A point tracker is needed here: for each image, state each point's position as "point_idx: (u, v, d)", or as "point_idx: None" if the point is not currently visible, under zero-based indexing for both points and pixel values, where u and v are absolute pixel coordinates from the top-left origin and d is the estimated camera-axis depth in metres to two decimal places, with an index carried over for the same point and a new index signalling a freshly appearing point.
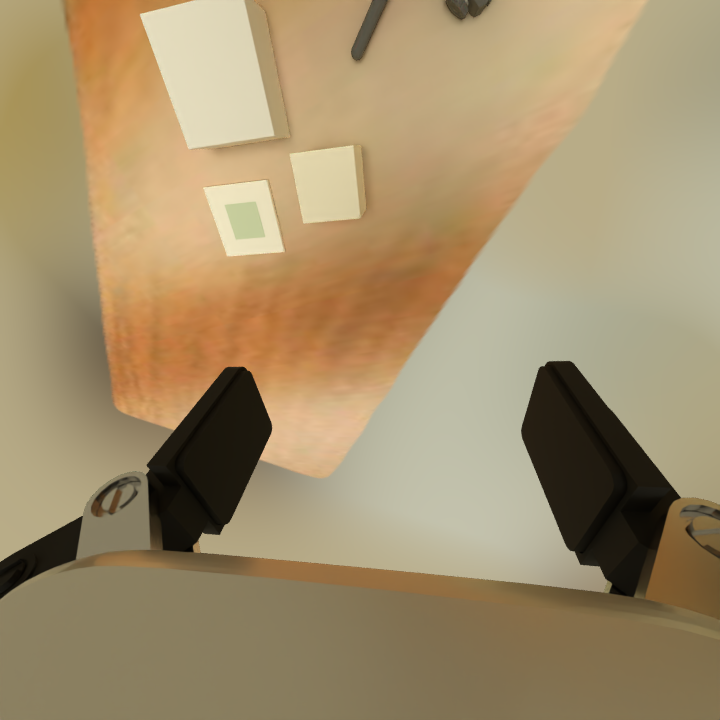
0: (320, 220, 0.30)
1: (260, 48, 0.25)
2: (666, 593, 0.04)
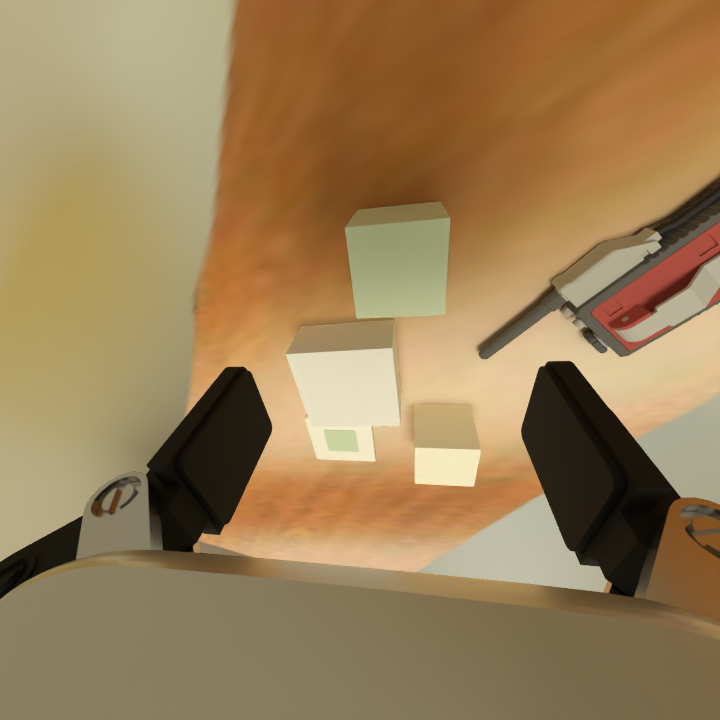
0: (432, 483, 0.31)
1: (395, 367, 0.26)
2: (666, 593, 0.04)
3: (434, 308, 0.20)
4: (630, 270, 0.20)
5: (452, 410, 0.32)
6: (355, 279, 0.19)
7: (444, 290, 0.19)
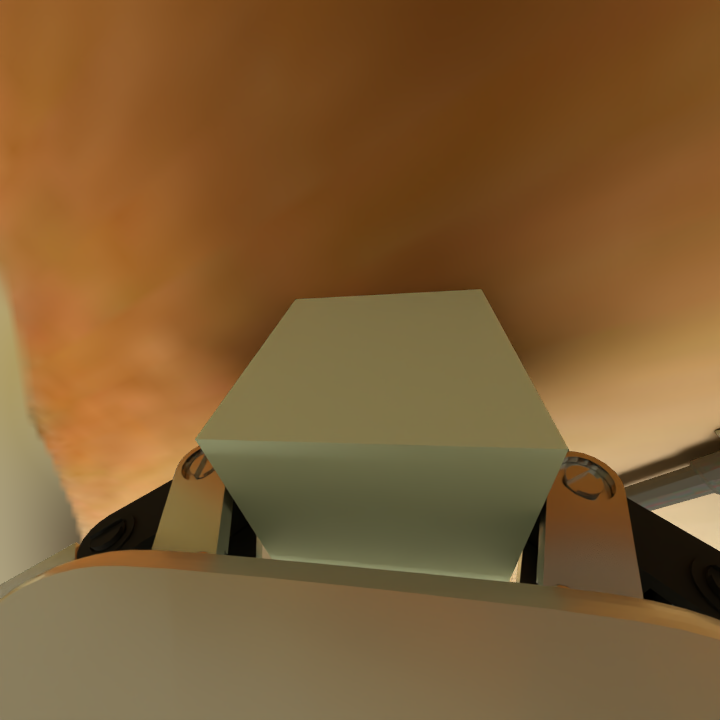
0: None
1: None
2: (558, 544, 0.05)
3: None
4: None
5: None
6: (262, 528, 0.07)
7: (508, 570, 0.07)
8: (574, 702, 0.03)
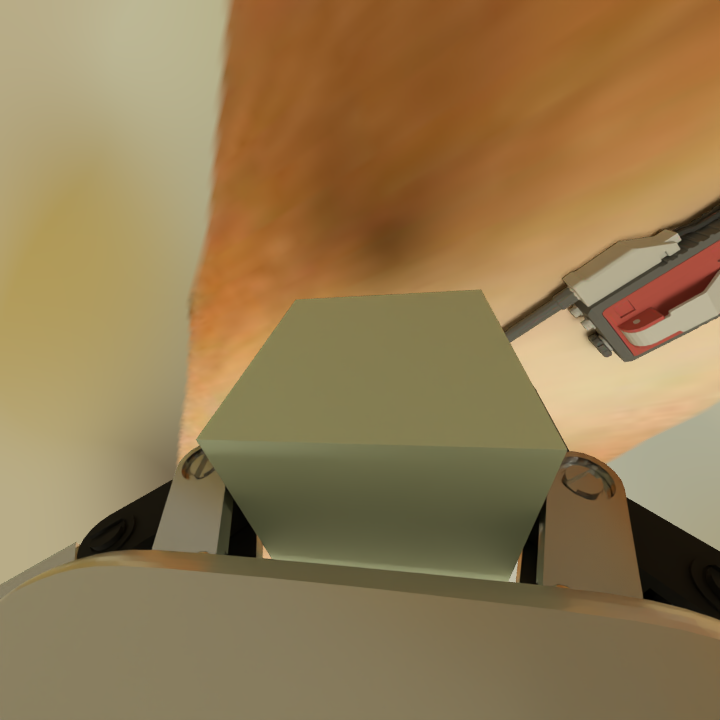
0: None
1: None
2: (557, 544, 0.05)
3: None
4: (646, 271, 0.20)
5: None
6: (262, 528, 0.07)
7: (508, 570, 0.07)
8: (574, 703, 0.03)
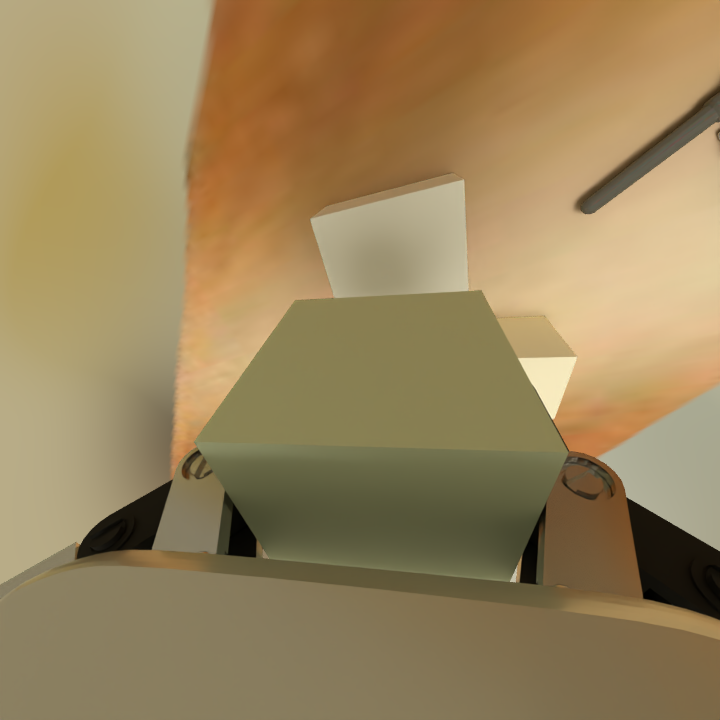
0: None
1: None
2: (557, 544, 0.05)
3: None
4: None
5: (523, 322, 0.24)
6: (261, 530, 0.07)
7: (508, 572, 0.07)
8: (575, 703, 0.03)
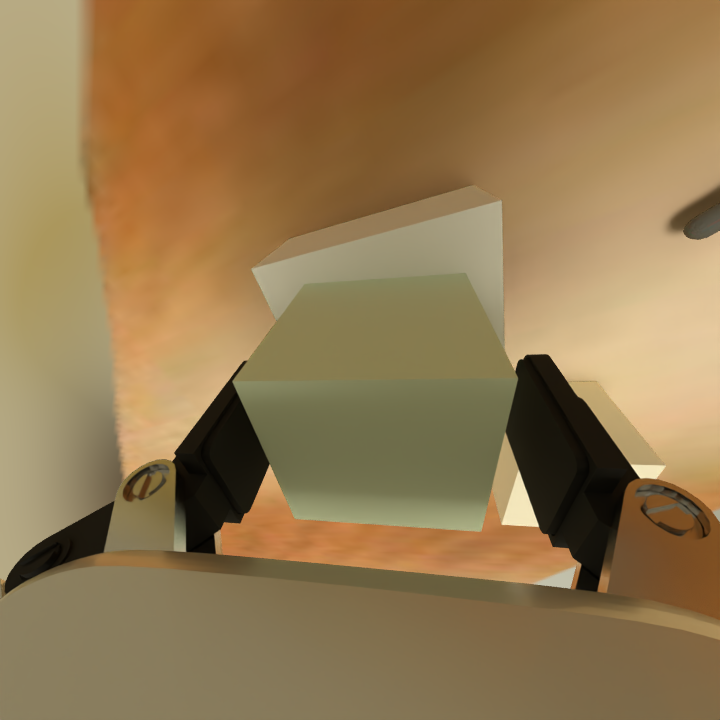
0: (536, 525, 0.17)
1: None
2: (627, 572, 0.04)
3: (459, 521, 0.09)
4: None
5: None
6: (280, 468, 0.08)
7: (484, 500, 0.08)
8: (574, 702, 0.03)
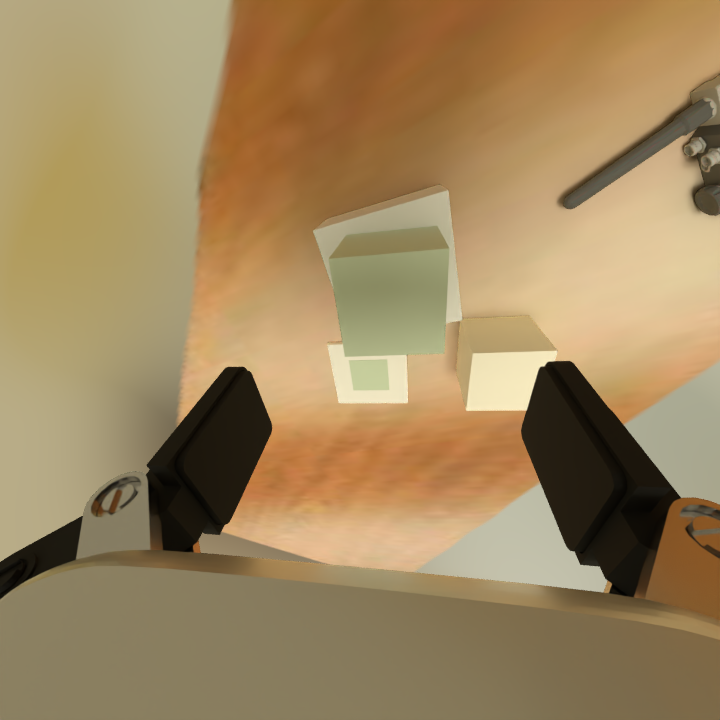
0: (488, 409, 0.26)
1: None
2: (666, 593, 0.04)
3: (432, 346, 0.17)
4: None
5: (509, 321, 0.26)
6: (342, 315, 0.17)
7: (443, 327, 0.17)
8: (574, 702, 0.03)
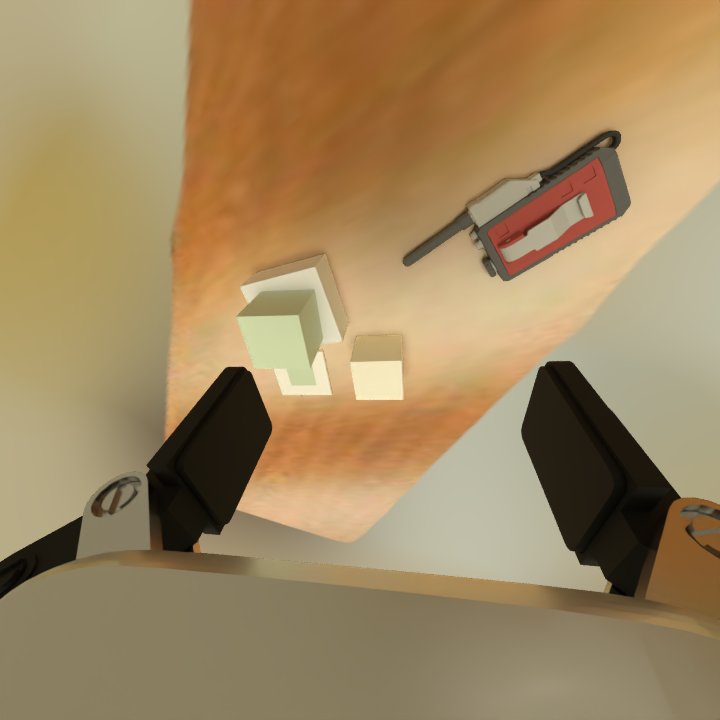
0: (370, 398, 0.38)
1: (327, 289, 0.33)
2: (666, 593, 0.04)
3: (302, 364, 0.30)
4: (518, 201, 0.27)
5: (386, 338, 0.38)
6: (249, 345, 0.29)
7: (306, 354, 0.29)
8: (575, 703, 0.03)
